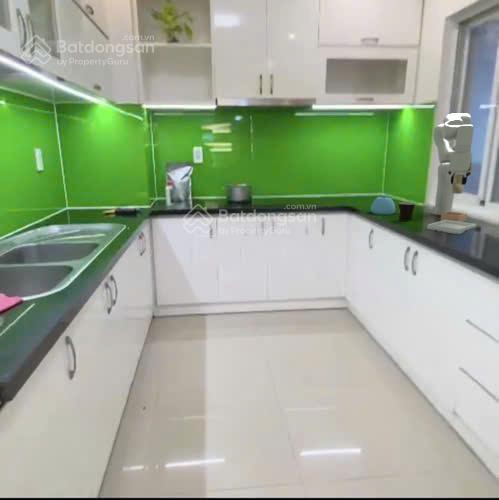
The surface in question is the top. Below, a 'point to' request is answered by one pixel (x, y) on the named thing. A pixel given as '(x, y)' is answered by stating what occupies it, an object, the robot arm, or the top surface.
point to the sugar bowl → (383, 206)
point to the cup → (453, 216)
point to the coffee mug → (406, 211)
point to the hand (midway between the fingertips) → (458, 183)
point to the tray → (451, 226)
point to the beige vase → (457, 184)
